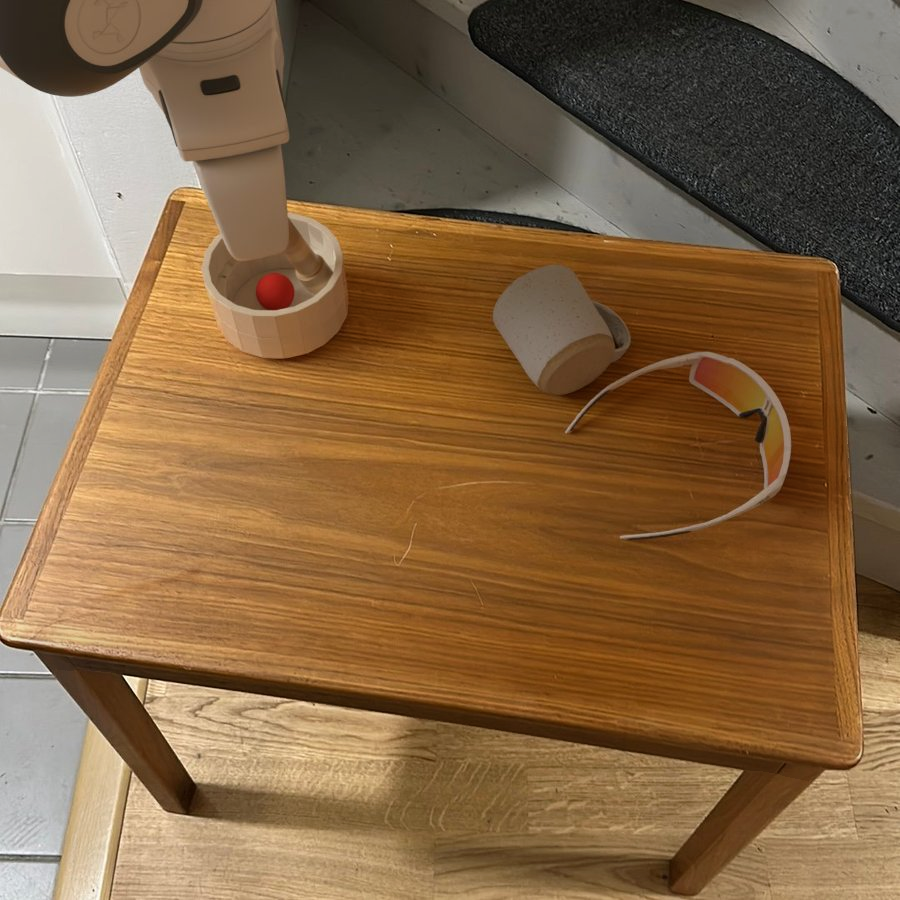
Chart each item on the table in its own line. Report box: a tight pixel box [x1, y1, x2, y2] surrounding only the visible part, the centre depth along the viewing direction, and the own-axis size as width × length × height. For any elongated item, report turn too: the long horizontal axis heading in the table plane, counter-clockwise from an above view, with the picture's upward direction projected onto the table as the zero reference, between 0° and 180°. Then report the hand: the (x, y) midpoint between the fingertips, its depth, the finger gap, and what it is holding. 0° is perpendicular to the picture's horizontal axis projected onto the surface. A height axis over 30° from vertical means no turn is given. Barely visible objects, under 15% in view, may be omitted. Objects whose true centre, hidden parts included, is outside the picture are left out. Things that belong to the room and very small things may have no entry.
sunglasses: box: [564, 351, 792, 541], centre depth 70 cm, size 14×15×5 cm
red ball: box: [256, 273, 295, 310], centre depth 77 cm, size 3×3×3 cm
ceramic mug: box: [492, 264, 632, 396], centre depth 74 cm, size 11×8×8 cm
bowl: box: [201, 212, 350, 359], centre depth 77 cm, size 11×11×6 cm
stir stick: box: [282, 218, 334, 294], centre depth 68 cm, size 3×3×20 cm
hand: (247, 212), depth 68 cm, fingers closed on stir stick, 2 cm apart
